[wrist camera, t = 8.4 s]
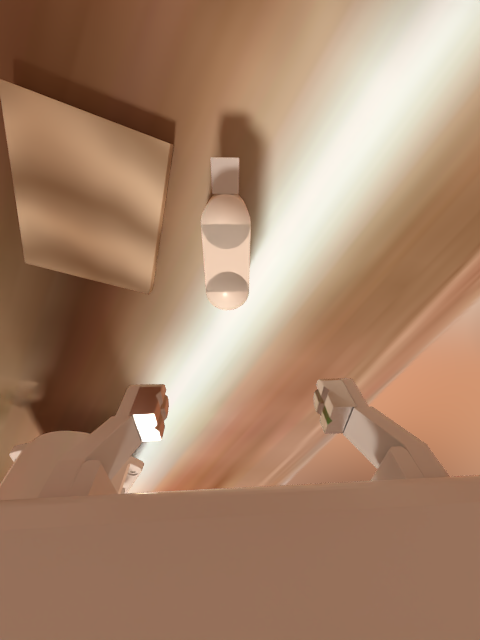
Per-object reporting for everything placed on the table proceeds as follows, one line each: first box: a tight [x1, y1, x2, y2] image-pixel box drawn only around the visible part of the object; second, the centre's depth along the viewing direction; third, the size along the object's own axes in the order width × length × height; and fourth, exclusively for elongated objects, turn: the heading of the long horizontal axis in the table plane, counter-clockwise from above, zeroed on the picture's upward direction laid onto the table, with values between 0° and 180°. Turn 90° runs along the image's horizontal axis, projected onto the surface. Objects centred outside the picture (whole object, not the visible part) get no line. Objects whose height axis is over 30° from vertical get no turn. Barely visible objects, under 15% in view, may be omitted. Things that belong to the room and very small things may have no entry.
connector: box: [201, 157, 251, 310], centre depth 23 cm, size 12×4×5 cm, turn 0°
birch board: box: [0, 79, 174, 294], centre depth 22 cm, size 14×12×2 cm
